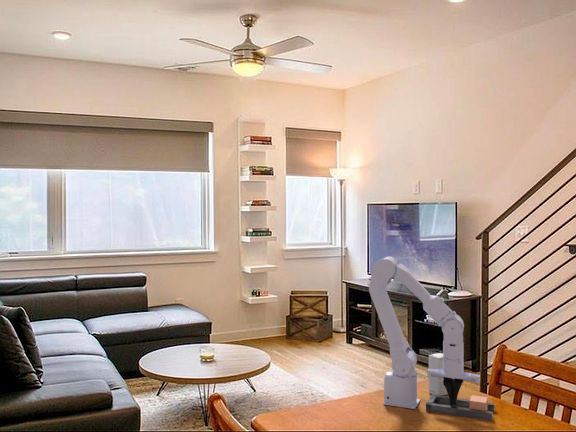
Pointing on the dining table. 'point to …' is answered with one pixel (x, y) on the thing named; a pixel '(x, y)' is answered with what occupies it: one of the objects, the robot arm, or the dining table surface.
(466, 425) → the dining table surface
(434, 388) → the skincare box
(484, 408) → the block
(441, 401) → the grey tray
